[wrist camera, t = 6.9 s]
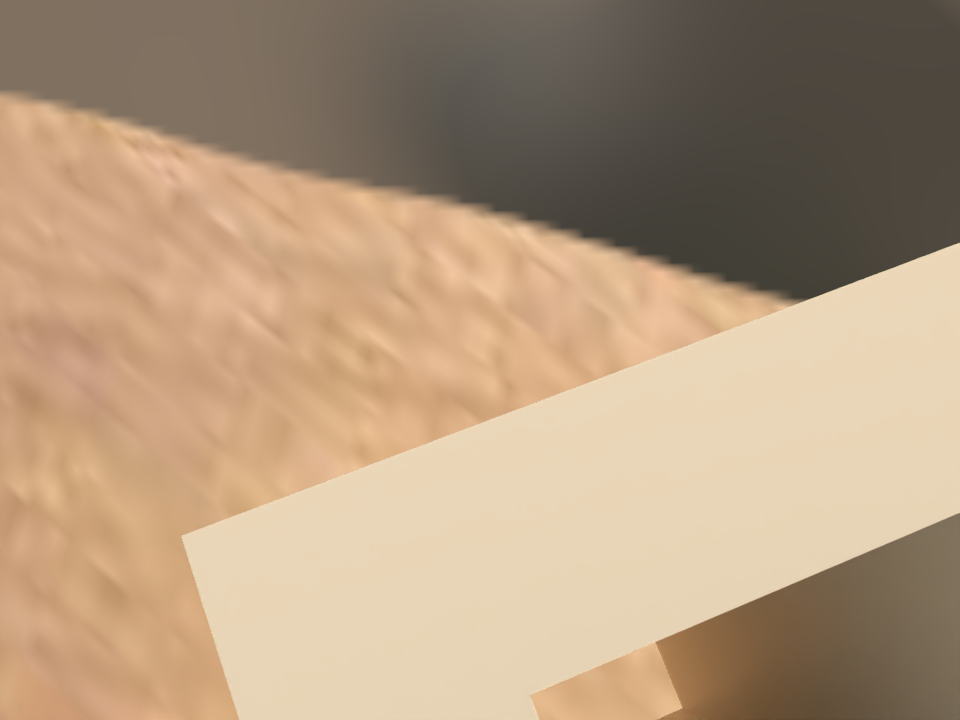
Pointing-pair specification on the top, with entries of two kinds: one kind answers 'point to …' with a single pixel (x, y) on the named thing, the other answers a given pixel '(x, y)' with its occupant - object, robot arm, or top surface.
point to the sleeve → (637, 536)
